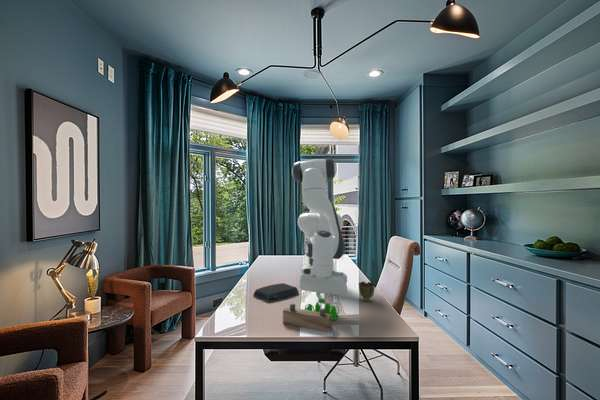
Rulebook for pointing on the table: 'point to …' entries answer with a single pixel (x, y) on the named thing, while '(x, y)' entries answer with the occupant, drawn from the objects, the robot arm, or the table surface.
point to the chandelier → (327, 309)
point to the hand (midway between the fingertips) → (322, 303)
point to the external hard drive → (275, 292)
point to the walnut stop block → (307, 318)
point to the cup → (366, 290)
